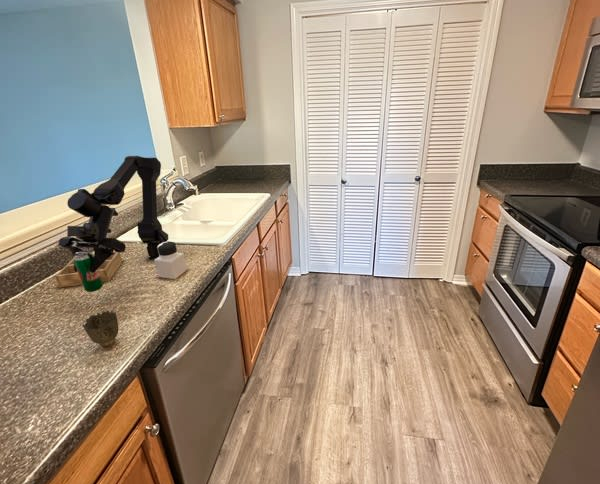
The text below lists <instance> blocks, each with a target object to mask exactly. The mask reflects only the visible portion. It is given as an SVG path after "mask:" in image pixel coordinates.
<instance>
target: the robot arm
mask: <svg viewBox="0 0 600 484" xmlns="http://www.w3.org/2000/svg"><path fill="white" fill-rule="evenodd" d="M161 168H162V163H161V161H160V160H159V159H158V158H157V157H144V156H139V155H127V156H125V157H124V160H123V162H122V163H121V164H120V166H119V167H118V168H117V170H116V171H115V172H114V173H113V175H112V176H111V177H110V179H108V180H106V181H105V182H102V183H101V184H99V185H98V186H97V187H95V188H94V190H93V191H92V192H89V191H88V190H87V189H85V188H78V189H77V191H76V192H75V193H72V195H71V196H70V197H69V198H67V202H66V203H67V207H68V208H69V209H70V210H72V211H74V212H76V213H78V214H80V215H82V216H84V217H85V218H89V219H88V222H84V223H83V224H82V225H66V226H67V227H66V229H67V231H66V234H67V236H63V237H60V238H59V240H58V243H57V246H59V247H62V248H64V249H67V250H69V251H70V252H71V255H72V259H73V258H74V257H73V255H74V254H75V253H78V252H80V251H86V248H91V249H92V248H93V252H94V253H93V254H94V258H93V262H92V265H91V271H90V272H92V273H94V272H95V271H96V270H97V269H98V268H99V267H100V266H101V265H102V264H103V263H104V262H105V261H106V260H107V259H108V258H109V257H110V256H111V255H114V254H115V253H114V252H120V253H125V251H126V244H125V242H123V241H121V240H120V239H117V238H114V237H107V236H108V234H111V233H112V229H111V228H110V227H111V226H110V225H111V223H112V219H113V217H118V216H119V213H118V211H117V210H116V208H115V207H110V206H117V205H120V204H121V202H122V201H123V199H124V196H125V188H126V187H127V185H128V184H129V183H130V181H131V180H132V178H133V177H134V175H135V174H136V173H137V175H138V177H139V178H140V180H141V193H142V194H141V195H142V219H141V221H140V222H138V223H137V225H136V226H137V232H136V233H137V235H138V238H139V239H140V241H141V242H142V244H144V245H145V244H146V245H147V246H146V250H147V254H148V257H149V260H155V259H156V258H158V257H159V252H158V248H157V247H158V245H159V244H161V243H163V242H168V241H169V233H167V232H166V231H164V230H163V225H162V223H161V222H160V220H159V219H158V202H157V201H158V198H157V197H158V196H157V181H158V179H159V177H160V176H161V172H162V171H161V170H162V169H161ZM75 237H76V238H75ZM74 271H75V272H78V271H77V269H76V266H75V264H74Z"/></svg>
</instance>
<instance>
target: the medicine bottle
mask: <svg viewBox="0 0 600 484" xmlns="http://www.w3.org/2000/svg"><path fill="white" fill-rule="evenodd" d="M176 244H177V243H176V242H175V241H169V240H167V242H163V243H161V244H159V245H158V247H157V248H158V252H159V257H158V258H156V259H154V264H155V267H156V272H157V275H158V278H164V279H169V280H176V279H177V278H178V277H179V276H181V275H182V274H184V273H185V272H186V271H188V270H187V269H188V268H187V264H186V260H185V259H186V258H185V255H184V253H183V252H178V249H177V245H176Z"/></svg>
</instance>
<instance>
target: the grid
mask: <svg viewBox="0 0 600 484" xmlns="http://www.w3.org/2000/svg"><path fill="white" fill-rule="evenodd" d="M113 252H114V253H115V254H114V255H111V256H110V257H109V258H108V259H107V260H106V261H105V262H104V263H103V264H102V265H101V266H100V267H99V268H98V270H99V273H100V276H101V279H102V282H109V281H111V279H112V277H113V275H114V274H115V273H116V271H117V270H118V268H119V267H120V265H121V264H122V262H123V259H122V256H121V252H115V251H113ZM92 254H93V256H94V254H95V253H92ZM54 277H55V279H56V282H57V285H58V287H59V288H67V287H73V286H81V285H82V286H83V284H82V282H81V279H80V277H79V274H78V272H75V271H74V261H73V258H72V259H70V261H69V262H68V263H67V264H66V265H65V266H64V267H63V268H62V269H61V270H60V271H59V272H58V273H57V274H56V275H55V276H54Z"/></svg>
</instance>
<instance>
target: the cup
mask: <svg viewBox="0 0 600 484" xmlns="http://www.w3.org/2000/svg"><path fill="white" fill-rule="evenodd" d="M82 328H83V329H84V331H85V332H86V333H85V334H87V337H89V339H90V341H92V342H93V343H94V344H97V345H99V346H100V347H101V348H109V347H111V346H113V345H114V344H115V343H116V341H117V339H116V338H117V336H118V334H119V321H118V316H117V312H116V311H113V310H111V311H110V310H107V309H106V311H105V310H102V312H101V313H100V312H97V313H96V314H90V315H89V316H88V318H85V323H82Z"/></svg>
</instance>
